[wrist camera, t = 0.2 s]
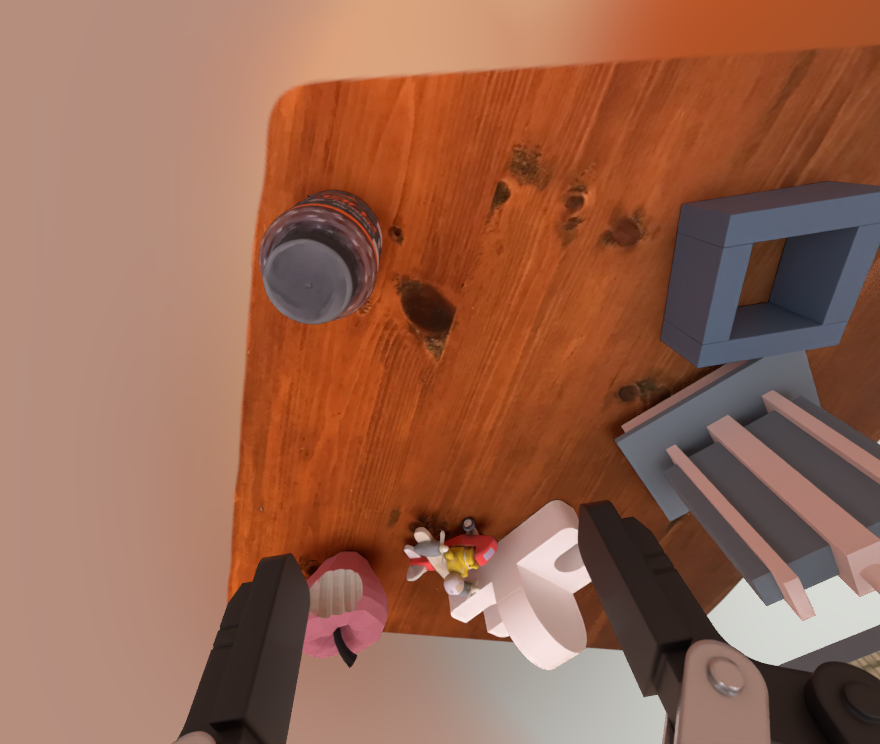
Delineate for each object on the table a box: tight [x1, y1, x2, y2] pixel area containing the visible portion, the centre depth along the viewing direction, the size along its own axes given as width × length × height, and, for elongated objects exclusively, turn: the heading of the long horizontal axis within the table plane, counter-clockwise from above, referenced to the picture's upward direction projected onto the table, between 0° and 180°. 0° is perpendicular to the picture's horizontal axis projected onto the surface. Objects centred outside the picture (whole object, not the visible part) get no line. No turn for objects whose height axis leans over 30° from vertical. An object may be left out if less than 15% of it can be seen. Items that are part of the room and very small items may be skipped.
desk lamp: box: [614, 350, 880, 680], centre depth 26 cm, size 18×14×33 cm
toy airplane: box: [404, 518, 498, 600], centre depth 42 cm, size 9×9×6 cm
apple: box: [302, 552, 388, 668], centre depth 41 cm, size 10×9×10 cm
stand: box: [661, 181, 880, 368], centre depth 30 cm, size 11×11×5 cm
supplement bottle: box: [259, 190, 382, 324], centre depth 23 cm, size 6×6×11 cm
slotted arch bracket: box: [449, 500, 591, 670], centre depth 43 cm, size 10×18×11 cm, turn 138°
